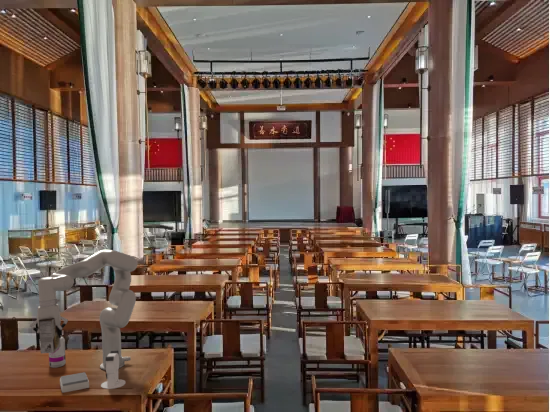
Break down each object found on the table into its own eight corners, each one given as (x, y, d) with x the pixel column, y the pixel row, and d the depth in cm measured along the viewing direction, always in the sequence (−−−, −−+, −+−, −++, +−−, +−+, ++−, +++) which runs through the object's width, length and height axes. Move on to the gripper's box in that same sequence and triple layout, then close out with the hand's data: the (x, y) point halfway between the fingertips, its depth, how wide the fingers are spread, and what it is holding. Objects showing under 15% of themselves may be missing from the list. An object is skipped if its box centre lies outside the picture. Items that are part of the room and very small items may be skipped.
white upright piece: (104, 380, 250) (103, 350, 250) (128, 378, 251) (126, 349, 251) (98, 389, 238) (96, 358, 238) (122, 388, 239) (121, 356, 239)
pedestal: (86, 379, 252) (85, 371, 252) (89, 387, 241) (88, 379, 241) (60, 384, 246) (59, 376, 246) (62, 392, 236) (61, 384, 236)
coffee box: (47, 347, 247) (45, 315, 247) (61, 346, 248) (59, 314, 247) (40, 353, 238) (38, 320, 238) (54, 352, 239) (52, 319, 238)
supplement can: (59, 368, 270) (58, 340, 270) (46, 367, 272) (44, 340, 271) (68, 363, 278) (67, 336, 278) (55, 362, 280) (54, 335, 279)
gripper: (67, 299, 249) (69, 334, 250) (28, 304, 242) (30, 340, 243) (68, 302, 243) (70, 337, 243) (27, 307, 235) (30, 344, 236)
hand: (50, 338), depth 243 cm, fingers closed on coffee box, 8 cm apart
